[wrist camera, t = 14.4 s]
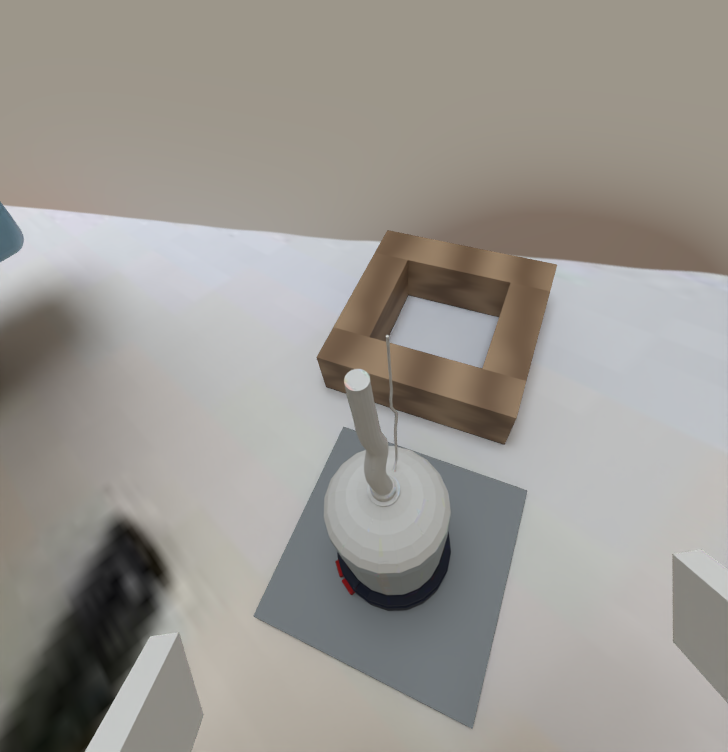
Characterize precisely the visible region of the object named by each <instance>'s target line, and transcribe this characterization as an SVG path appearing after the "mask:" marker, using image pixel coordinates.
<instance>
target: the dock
mask: <svg viewBox="0 0 728 752" xmlns="http://www.w3.org/2000/svg"><path fill="white" fill-rule="evenodd" d="M556 267H557V265H556V264H552V263H547V262H542V261H537V260H532V259H527V258H522V257H517V256H512V255H507V254H502V253H497V252H492V251H487V250H482V249H477V248H472V247H468V246H462V245H457V244H453V243H448V242H442V241H438V240H433V239H428V238H423V237H418V236H413V235H408V234H404V233H399V232H394V231H389V230H388V231H387V232H386V234H385V236H384V237H383V240H382V241H381V243H380V245H379V246H378V248H377V250H376V252H375V254H374V255H373V257H372V259H371V261H370V262H369V264H368V266H367V268H366V270H365V271H364V273H363V275H362V277H361V279H360V280H359V282H358V284H357V286H356V288H355V289H354V291H353V293H352V295H351V297H350V298H349V300H348V302H347V304H346V306H345V307H344V309H343V311H342V313H341V315H340V316H339V318H338V320H337V322H336V324H335V325H334V327H333V329H332V331H331V332H330V334H329V336H328V338H327V340H326V341H325V343H324V345H323V347H322V349H321V350H320V352H319V354H318V356H317V360H318V363H319V366H320V369H321V373H322V376H323V379H324V382H325V385H326V387H328V388H331V389H334V390H337V391H341V392H344V393H346V389H345V384H344V378H345V376H346V374H347V373H348V372H349V371H351V370H354V369H362V370H364V371H366V372H367V373H368V374H369V376H370V381H371V387H372V392H373V397H374V402H375V403H378V404H381V405H384V406H387V407H390V401H389V398H390V384H389V371H388V358H387V345H386V335H389V334H390V332H391V330H392V328H393V326H394V324H395V322H396V320H397V317H398V315H399V313H400V311H401V309H402V307H403V305H404V303H405V301H406V298H407V296H408V295H411V296H415V297H419V298H423V299H427V300H431V301H436V302H440V303H444V304H448V305H452V306H456V307H460V308H464V309H468V310H473V311H477V312H481V313H485V314H489V315H493V316H497V317H499V320H498V323H497V326H496V329H495V332H494V335H493V338H492V341H491V344H490V347H489V350H488V353H487V356H486V359H485V362H484V365H483V368H478V367H474V366H471V365H467V364H464V363H460V362H457V361H453V360H449V359H446V358H442V357H439V356H435V355H432V354H428V353H424V352H421V351H417V350H414V349H410V348H406V347H403V346H399V345H396V344H392V343H390V358H391V373H392V386H393V395H392V404H393V408H394V409H396V410H399V411H402V412H405V413H409V414H412V415H415V416H418V417H421V418H424V419H427V420H430V421H433V422H436V423H440V424H443V425H446V426H449V427H452V428H455V429H458V430H461V431H464V432H467V433H470V434H474V435H477V436H480V437H483V438H486V439H489V440H492V441H495V442H498V443H501V444H504V445H505V442H506V440H507V438H508V436H509V434H510V431H511V429H512V427H513V425H514V423H515V420H516V418H517V414H518V410H519V407H520V403H521V399H522V395H523V392H524V388H525V384H526V380H527V376H528V373H529V369H530V365H531V361H532V358H533V354H534V350H535V346H536V343H537V339H538V335H539V331H540V327H541V324H542V320H543V316H544V312H545V309H546V305H547V301H548V297H549V294H550V290H551V286H552V282H553V278H554V275H555V271H556Z"/></svg>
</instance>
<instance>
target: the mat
mask: <svg viewBox="0 0 728 752" xmlns="http://www.w3.org/2000/svg"><path fill="white" fill-rule="evenodd" d="M388 446H395V444H392V443H389V442H388ZM397 447H400V446H398V445H397ZM400 448H403V447H400ZM404 449H406V448H404ZM364 450H366V449H365V448H364V447H363V446H362V445H361V443H360V441H359V438H358V436H357V433H356V431H354V430H351V429H349V428H346V427H343V429H342V431H341V433H340V435H339V437H338V439H337V441H336V444H335V446H334V448H333V450H332V452H331V454H330V456H329V458H328V460H327V462H326V465H325V467H324V469H323V471H322V473H321V475H320V477H319V479H318V481H317V483H316V486H315V488H314V490H313V492H312V494H311V496H310V498H309V500H308V502H307V504H306V507H305V509H304V511H303V513H302V515H301V517H300V519H299V521H298V523H297V525H296V528H295V530H294V532H293V534H292V536H291V538H290V540H289V542H288V544H287V546H286V549H285V551H284V553H283V555H282V557H281V559H280V561H279V563H278V565H277V567H276V570H275V572H274V574H273V576H272V578H271V580H270V582H269V584H268V586H267V588H266V591H265V593H264V595H263V597H262V599H261V601H260V603H259V605H258V607H257V609H256V612H255V614H254V617H256V618H258V619H260V620H262V621H264V622H266V623H267V624H269V625H271V626H273V627H275V628H277V629H279V630H281V631H283V632H285V633H287V634H289V635H291V636H293V637H295V638H297V639H299V640H301V641H302V642H304V643H306V644H308V645H310V646H312V647H314V648H316V649H318V650H320V651H322V652H324V653H326V654H328V655H330V656H332V657H334V658H336V659H338V660H339V661H341V662H343V663H345V664H347V665H349V666H351V667H353V668H355V669H357V670H359V671H361V672H363V673H365V674H367V675H369V676H371V677H373V678H375V679H376V680H378V681H380V682H382V683H384V684H386V685H388V686H390V687H392V688H394V689H396V690H398V691H400V692H402V693H404V694H406V695H408V696H410V697H412V698H413V699H415V700H417V701H419V702H421V703H423V704H425V705H427V706H429V707H431V708H433V709H435V710H437V711H439V712H441V713H443V714H445V715H447V716H449V717H450V718H452V719H454V720H456V721H458V722H460V723H462V724H464V725H466V726H468V727H470V728H473V724H474V720H475V715H476V711H477V707H478V702H479V698H480V694H481V689H482V685H483V681H484V676H485V672H486V668H487V663H488V659H489V655H490V650H491V646H492V642H493V637H494V633H495V629H496V624H497V620H498V616H499V611H500V607H501V603H502V598H503V594H504V590H505V585H506V581H507V577H508V572H509V568H510V564H511V559H512V555H513V551H514V546H515V542H516V538H517V533H518V529H519V525H520V520H521V516H522V512H523V507H524V503H525V499H526V494H527V490H524V489H521V488H518V487H516V486H513V485H510V484H507V483H504V482H501V481H498V480H495V479H493V478H490V477H487V476H484V475H481V474H478V473H475V472H472V471H469V470H467V469H464V468H461V467H458V466H455V465H452V464H449V463H446V462H444V461H441V460H438V459H435V458H432V457H429V456H426V455H423V454H421V453H418V452H415V451H413V452H415V453H416V454H418V455H420V456H421V457H423V458H425V459H426V460H428V461H429V462H430V464H431V465H432V466H433V467H434V468H435V469H436V470H437V471H438V472H439V474H440V475H441V477H442V479H443V482H444V484H445V486H446V488H447V490H448V493H449V501H450V510H451V520H450V525H449V530H448V532H449V538H450V546H451V555H450V561H449V566H448V571H447V573H446V575H445V577H444V579H443V581H442V583H441V585H440V586H439V588H438V590H437V592H435V593H434V594H433V595H432V596H431V597H430V598H429V599H428V600H427V601H425V602H424V603H423V604H421V605H419V606H416V607H414V608H411V609H409V610H403V611H387V610H384V609H381V608H378V607H375V606H372V605H370V604H369V603H368V602H366V601H365V600H364V599H363V598H361V597H360V596H359V595H357V594H356V593H354V594H353V595H350V593H349V592H348V590H347V589H346V587H345V586H344V584H343V583H342V580H343V579H344V578H345V577H342V578H340V577H339V573H338V570H337V566H336V563H335V561H336V560H338V557H337V550H336V549H335V547H334V546H333V544H332V543H331V541H330V538H329V535H328V531H327V528H326V524H325V520H324V497H325V495H326V492H327V489H328V486H329V483H330V480H331V478H332V477H333V476H334V474H335V473H336V472H337V470H338V469H339V468H340V466H341V465H342V464H343V463H344V462H346V461H347V460H348V459H350V458H351V457H352V456H354V455H355V454H356V453H359V452H361V451H364ZM408 450H409V449H408ZM411 451H412V450H411Z"/></svg>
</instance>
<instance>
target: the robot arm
mask: <svg viewBox="0 0 728 752" xmlns="http://www.w3.org/2000/svg"><path fill="white" fill-rule="evenodd" d="M23 242H24V238H23V234H22V232H21V230H20V228H19V227H18V225H17V224H16V222H15V221H14V220H13V218H12V217H11V215H10V214H9V213H8V211H7V210H6V209H5V207H4V206H3V204H2V203H1V202H0V262H2V261H3V260H5V259H7V258H9V257H10V256H12V255H14V254H15V253H17V252H18V251H19V250H20V249H21V248H22V246H23ZM673 642H674V643H675V644H676V646H677V647H678V648H679V649H680V650H681V651H682V652H683V653H684V655H685V656H686V657H687V658H688V659H689V660H690V661H691V662H692V664H693V665H694V666H695V667H696V668H697V669H698V670H699V671H700V673H701V674H702V675H703V676H704V677H705V678H706V679H707V680H708V682H709V683H710V684H711V685H712V686H713V687H714V688H715V689H716V691H717V692H718V693H719V694H720V695H721V696H722V697H723V698H724V700H725V701H726V702H727V703H728V569H727V568H725V567H724V566H723V565H721V564H720V563H719V562H717V561H716V560H715V559H714V558H712V557H711V556H710V555H708V554H707V553H706V552H704V551H703V550H702V549H700V550H694V551H688V552H681V553H675V554H673ZM202 718H203V711H202V708H201V705H200V701H199V698H198V695H197V691H196V688H195V685H194V681H193V678H192V674H191V671H190V668H189V664H188V661H187V658H186V654H185V651H184V648H183V644H182V641H181V638H180V634H179V632H175V633H169V634H162V635H156V636H150V638H149V640H148V641H147V643H146V645H145V647H144V648H143V650H142V652H141V654H140V655H139V657H138V659H137V661H136V662H135V664H134V666H133V668H132V670H131V671H130V673H129V675H128V677H127V678H126V680H125V682H124V684H123V685H122V687H121V689H120V691H119V693H118V694H117V696H116V698H115V700H114V701H113V703H112V705H111V707H110V708H109V710H108V712H107V714H106V715H105V717H104V719H103V721H102V723H101V724H100V726H99V728H98V730H97V731H96V733H95V735H94V737H93V738H92V740H91V742H90V744H89V746H88V747H87V749H86V751H85V752H191V750H192V748H193V745H194V742H195V739H196V736H197V733H198V730H199V727H200V724H201V721H202Z"/></svg>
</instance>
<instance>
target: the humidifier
mask: <svg viewBox="0 0 728 752" xmlns="http://www.w3.org/2000/svg"><path fill="white" fill-rule="evenodd" d="M386 345H387V358H388V371H389V384H390V398H389V401H390V409H391V410H392V411H393V412H394V413H395V424H394V442H395V446H388V442H387V439H386V437H385V436H384V435H383V433H382V432H381V429H380V426H379V421H378V415H377V411H376V406H375V402H374V397H373V392H372V387H371V381H370V376H369V374H368V373H367V372H366V371H364V370H362V369H354V370H351V371H349V372H348V373H347V374H346V376H345V378H344V384H345V389H346V393H347V398H348V402H349V405H350V409H351V412H352V416H353V420H354V424H355V429H356V433H357V436H358V438H359V441H360V443H361V445H362V446H363V447H364V448H365V449H366V450H364V451H361V452H359V453H356V454H355V455H354V456H352V457H351V458H350V459H348V460H347V461H346V462H344V463H343V464H342V465H341V466H340V468H339V469H338V470H337V472H336V473H335V474H334V476H333V477H332V478H331V480H330V483H329V486H328V489H327V492H326V495H325V497H324V520H325V524H326V528H327V531H328V535H329V538H330V541H331V543H332V544H333V546H334V547H335V549H336V550H337V557H338V560H336V561H335V563H336V566H337V570H338V573H339V577H340V578H342V577H345V578H344V579H343V580H342V583H343V584H344V586H345V587H346V589H347V590H348V592H349V593H350V595H353V594H354V593H356V594H357V595H359V596H360V597H361V598H363V599H364V600H365V601H366V602H368V603H369V604H370V605H372V606H375V607H378V608H381V609H384V610H387V611H403V610H409V609H411V608H414V607H416V606H419V605H421V604H423V603H424V602H425V601H427V600H428V599H429V598H430V597H431V596H432V595H433V594H434V593H435V592H437V590H438V588H439V586H440V585H441V583H442V581H443V579H444V577H445V575H446V573H447V571H448V566H449V561H450V555H451V546H450V538H449V532H448V530H449V525H450V520H451V510H450V501H449V493H448V490H447V488H446V486H445V484H444V482H443V479H442V477H441V475H440V474H439V472H438V471H437V470H436V469H435V468H434V467H433V466H432V465H431V464H430V462H429V461H428V460H426V459H425V458H423V457H421V456H420V455H418V454H416V453H415V452H413V451H411V450H408V449H404V448H400V447H397V421H398V413H397V412H396V410H395V409H394V408H393V404H392V395H393V386H392V373H391V358H390V343H389V335H386Z"/></svg>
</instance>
